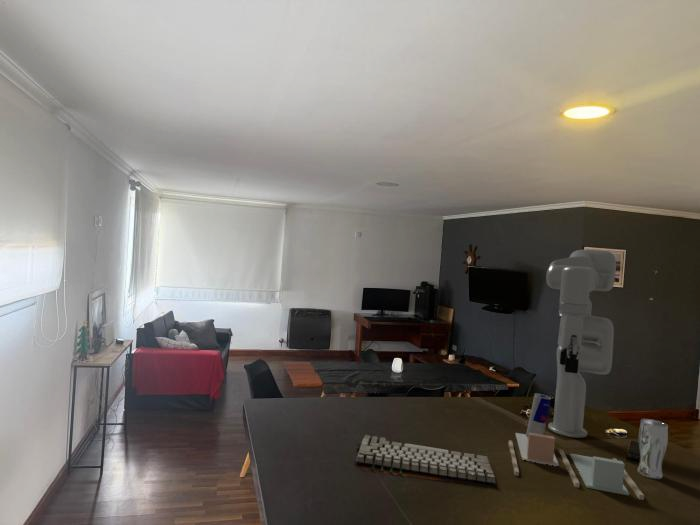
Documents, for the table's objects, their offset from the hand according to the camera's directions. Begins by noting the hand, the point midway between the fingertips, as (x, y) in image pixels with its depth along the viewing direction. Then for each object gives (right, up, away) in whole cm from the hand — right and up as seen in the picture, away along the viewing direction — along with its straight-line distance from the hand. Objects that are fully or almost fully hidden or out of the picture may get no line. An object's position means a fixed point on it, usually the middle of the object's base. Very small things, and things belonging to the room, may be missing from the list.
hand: (568, 368), depth 134 cm
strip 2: (+7, -29, -3) cm, 30 cm away
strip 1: (-5, -28, +11) cm, 31 cm away
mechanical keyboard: (-43, -26, -5) cm, 50 cm away
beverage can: (-3, -27, +17) cm, 32 cm away
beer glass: (+23, -31, 0) cm, 39 cm away
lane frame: (0, -28, -1) cm, 29 cm away
